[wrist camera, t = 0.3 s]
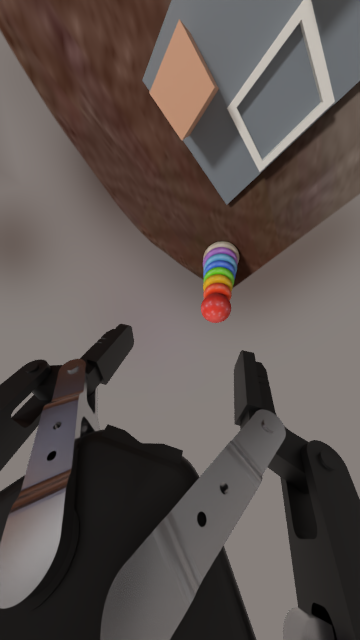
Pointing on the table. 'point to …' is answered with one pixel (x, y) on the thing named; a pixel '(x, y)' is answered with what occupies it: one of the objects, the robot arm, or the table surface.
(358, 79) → the board
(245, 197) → the table surface
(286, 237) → the table surface
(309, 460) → the robot arm
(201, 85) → the terracotta block
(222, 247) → the stacking toy
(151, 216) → the table surface
